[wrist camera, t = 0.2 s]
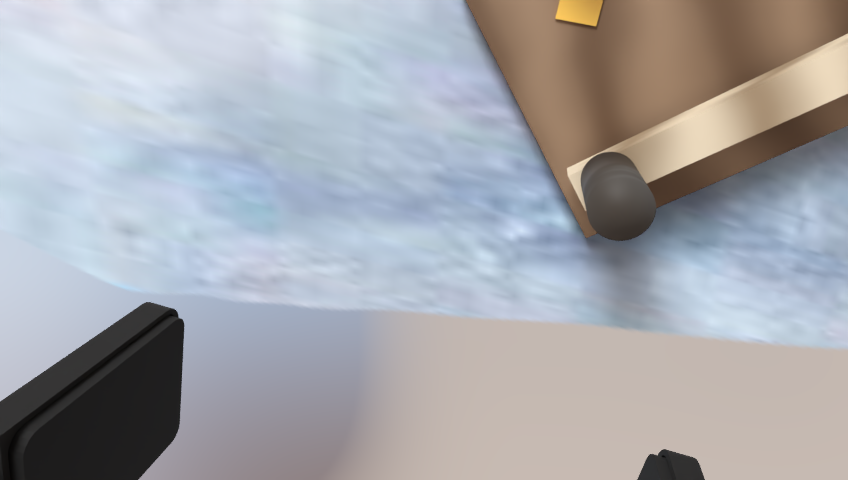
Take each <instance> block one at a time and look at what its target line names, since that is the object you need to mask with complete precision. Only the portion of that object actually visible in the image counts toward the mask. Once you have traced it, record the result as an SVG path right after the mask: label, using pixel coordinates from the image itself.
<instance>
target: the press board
mask: <svg viewBox="0 0 848 480" xmlns="http://www.w3.org/2000/svg"><path fill="white" fill-rule="evenodd" d="M466 2H467V4H468V6H469V8H470V10H471V12H472V14H473V16H474V18H475V20H476V21H477V23H478V25H479V27H480V29H481V31H482V33H483V35H484V37H485V39H486V41H487V43H488V45H489V47H490V49H491V51H492V53H493V55H494V57H495V59H496V61H497V63H498V65H499V67H500V69H501V71H502V73H503V75H504V77H505V79H506V81H507V83H508V85H509V87H510V89H511V91H512V93H513V95H514V97H515V99H516V101H517V103H518V105H519V107H520V109H521V111H522V112H523V114H524V116H525V118H526V120H527V122H528V124H529V126H530V128H531V130H532V132H533V134H534V136H535V138H536V140H537V142H538V144H539V146H540V148H541V150H542V152H543V154H544V156H545V158H546V160H547V162H548V164H549V166H550V168H551V170H552V172H553V174H554V176H555V178H556V180H557V182H558V184H559V186H560V188H561V190H562V192H563V194H564V196H565V198H566V200H567V202H568V204H569V205H570V207H571V209H572V211H573V213H574V215H575V217H576V219H577V221H578V223H579V225H580V227H581V229H582V231H583V233H584V235H585V237H586V238H588V237H590V236H592V235H595V234H597V232H596V231H595V230H594V229H593V228H592V226H591V224H590V222H589V220H588V216H587V211H585V209H584V207H583V205H582V203H581V201H580V199H579V197H578V195H577V193H576V191H575V189H574V187H573V185H572V183H571V181H570V179H569V177H568V173H567V168H568V167H570V166H572V165H574V164H577V163H579V162H581V161H583V160H585V159H587V158H589V157H591V156H593V155H595V154H597V153H600V152H602V151H604V150H606V149H608V148H610V147H612V146H614V145H616V144H618V143H620V142H623V141H625V140H627V139H629V138H631V137H633V136H635V135H637V134H639V133H641V132H643V131H645V130H648V129H650V128H652V127H654V126H656V125H658V124H660V123H662V122H664V121H666V120H668V119H671V118H673V117H675V116H677V115H679V114H681V113H683V112H685V111H687V110H689V109H691V108H694V107H696V106H698V105H700V104H702V103H704V102H706V101H708V100H710V99H712V98H714V97H716V96H719V95H721V94H723V93H725V92H727V91H729V90H731V89H733V88H735V87H737V86H739V85H742V84H744V83H746V82H748V81H750V80H752V79H754V78H756V77H758V76H760V75H762V74H764V73H767V72H769V71H771V70H773V69H775V68H777V67H779V66H781V65H783V64H785V63H787V62H790V61H792V60H794V59H796V58H798V57H800V56H802V55H804V54H806V53H808V52H810V51H813V50H815V49H817V48H819V47H821V46H823V45H825V44H827V43H829V42H831V41H833V40H835V39H838V38H840V37H842V36H844V35H846V34H848V0H466ZM846 126H848V94H846V95H844V96H841V97H839V98H837V99H835V100H832V101H830V102H828V103H826V104H824V105H821V106H819V107H817V108H815V109H812V110H810V111H808V112H806V113H803V114H801V115H799V116H797V117H794V118H792V119H790V120H788V121H785V122H783V123H781V124H779V125H777V126H774V127H772V128H770V129H768V130H765V131H763V132H761V133H759V134H756V135H754V136H752V137H750V138H747V139H745V140H743V141H741V142H739V143H736V144H734V145H732V146H730V147H727V148H725V149H723V150H721V151H718V152H716V153H714V154H712V155H709V156H707V157H705V158H703V159H701V160H698V161H696V162H694V163H692V164H689V165H687V166H685V167H683V168H680V169H678V170H676V171H674V172H671V173H669V174H667V175H665V176H663V177H660V178H658V179H656V180H654V181H651V182H649V183H647V186H648V187H649V189H650V191H651V192H652V194H653V196H654V198H655V202H656V208H658V207H660V206H662V205H665V204H667V203H669V202H671V201H674V200H676V199H678V198H681V197H683V196H685V195H688V194H690V193H692V192H695V191H697V190H699V189H702V188H704V187H706V186H709V185H711V184H713V183H716V182H718V181H720V180H723V179H725V178H727V177H730V176H732V175H734V174H737V173H739V172H741V171H744V170H746V169H748V168H751V167H753V166H755V165H757V164H760V163H762V162H764V161H767V160H769V159H771V158H774V157H776V156H778V155H781V154H783V153H785V152H788V151H790V150H792V149H795V148H797V147H799V146H802V145H804V144H806V143H809V142H811V141H813V140H816V139H818V138H820V137H823V136H825V135H827V134H830V133H832V132H834V131H837V130H839V129H841V128H843V127H846Z"/></svg>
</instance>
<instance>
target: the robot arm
mask: <svg viewBox="0 0 848 480" xmlns="http://www.w3.org/2000/svg"><path fill="white" fill-rule="evenodd" d="M183 339H184V322H183V320H182V319H180V318H178V313H177V311H176V310H175V309H172V308H168V307H165V306H161V305H158V304H154V303H151V302H146V303H144V304H142V305H141V306H139V307H138V308H136V309H135V310H133V311H132V312H130V313H129V314H127V315H126V316H125V317H123V318H122V319H120V320H119V321H117V322H116V323H114V324H113V325H111V326H110V327H108V328H107V329H106V330H104V331H103V332H101V333H100V334H98V335H97V336H95V337H94V338H92V339H91V340H89V341H88V342H87V343H85V344H84V345H82V346H81V347H79V348H78V349H76V350H75V351H73V352H72V353H71V354H69V355H68V356H66V357H65V358H63V359H62V360H60V361H59V362H57V363H56V364H54V365H53V366H52V367H50V368H49V369H47V370H46V371H44V372H43V373H41V374H40V375H38V376H37V377H35V378H34V379H33V380H31V381H30V382H28V383H27V384H25V385H24V386H22V387H21V388H19V389H18V390H16V391H15V392H14V393H12V394H11V395H9V396H8V397H6V398H5V399H3V400H2V401H1V402H0V480H138V479H139V478H140V477H141V476H142V475H143V474H144V473H145V471H146V470H147V469H148V468H149V467H150V466H151V465H152V464H153V462H154V461H155V460H156V459H157V458H158V457H159V456H160V455H161V454H162V453H163V451H164V450H165V449H166V448H167V447H168V446H169V445H170V444H171V442H172V441H173V440H174V438H175V436H176V434H177V432H178V429H179V424H180V404H181V383H182V382H181V381H182V362H183ZM638 480H705V479H704V476H703V473H702V471H701V468H700V465H699V463H698V461H697V459H695V458H693V457H690V456H686V455H683V454H679V453H676V452H672V451H669V450H665V449H664V450H661V451H660V452H659V454H658V456H657V455H654V454H650V455H649V456H648V457H647V459H646V461H645V464H644V466H643V468H642V470H641V473H640V475H639V477H638Z"/></svg>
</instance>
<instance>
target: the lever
mask: <svg viewBox="0 0 848 480" xmlns="http://www.w3.org/2000/svg"><path fill="white" fill-rule="evenodd" d="M846 94H848V34H846V35H844V36H842V37H840V38H838V39H835V40H833V41H831V42H829V43H827V44H825V45H823V46H821V47H819V48H817V49H815V50H813V51H810V52H808V53H806V54H804V55H802V56H800V57H798V58H796V59H794V60H792V61H790V62H787V63H785V64H783V65H781V66H779V67H777V68H775V69H773V70H771V71H769V72H767V73H764V74H762V75H760V76H758V77H756V78H754V79H752V80H750V81H748V82H746V83H744V84H742V85H739V86H737V87H735V88H733V89H731V90H729V91H727V92H725V93H723V94H721V95H719V96H716V97H714V98H712V99H710V100H708V101H706V102H704V103H702V104H700V105H698V106H696V107H694V108H691V109H689V110H687V111H685V112H683V113H681V114H679V115H677V116H675V117H673V118H671V119H668V120H666V121H664V122H662V123H660V124H658V125H656V126H654V127H652V128H650V129H648V130H645V131H643V132H641V133H639V134H637V135H635V136H633V137H631V138H629V139H627V140H625V141H623V142H620V143H618V144H616V145H614V146H612V147H610V148H608V149H606V150H604V151H602V152H600V153H597V154H595V155H593V156H591V157H589V158H587V159H585V160H583V161H581V162H579V163H577V164H574V165H572V166H570V167H568V168H567V173H568V177H569V179H570V181H571V183H572V185H573V187H574V189H575V191H576V193H577V195H578V197H579V199H580V201H581V203H582V205H583V207H584V209H585V211H587V216H588V220H589V222H590V224H591V226H592V228H593V229H594V230H595V231H596V232H597V233H598V234H600V235H601V236H603V237H605V238H607V239H611V240H616V241H623V240H629V239H632V238H635V237H637V236H639V235H641V234H642V233H643V232H645V231H646V230H647V229H648V228H649V226H650V225H651V223H652V222H653V220H654V217H655V213H656V202H655V198H654V196H653V194H652V192H651V191H650V189H649V187H648V186H647V183H649V182H651V181H654V180H656V179H658V178H660V177H663V176H665V175H667V174H669V173H671V172H674V171H676V170H678V169H680V168H683V167H685V166H687V165H689V164H692V163H694V162H696V161H698V160H701V159H703V158H705V157H707V156H709V155H712V154H714V153H716V152H718V151H721V150H723V149H725V148H727V147H730V146H732V145H734V144H736V143H739V142H741V141H743V140H745V139H747V138H750V137H752V136H754V135H756V134H759V133H761V132H763V131H765V130H768V129H770V128H772V127H774V126H777V125H779V124H781V123H783V122H785V121H788V120H790V119H792V118H794V117H797V116H799V115H801V114H803V113H806V112H808V111H810V110H812V109H815V108H817V107H819V106H821V105H824V104H826V103H828V102H830V101H832V100H835V99H837V98H839V97H841V96H844V95H846Z"/></svg>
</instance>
